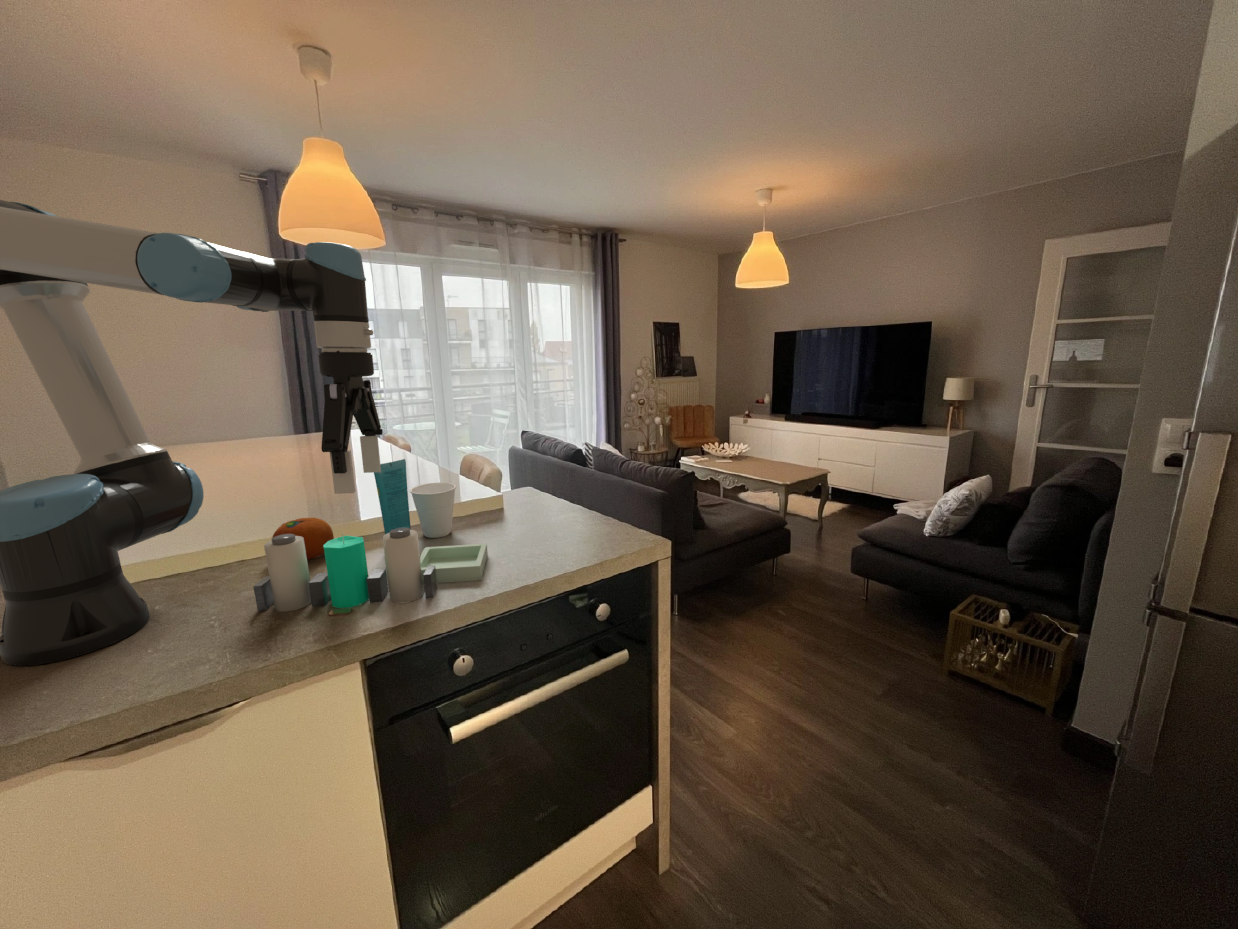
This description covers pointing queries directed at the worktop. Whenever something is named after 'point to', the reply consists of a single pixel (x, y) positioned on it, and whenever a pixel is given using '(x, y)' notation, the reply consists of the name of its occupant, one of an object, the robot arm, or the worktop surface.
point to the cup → (434, 507)
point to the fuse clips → (322, 594)
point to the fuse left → (288, 572)
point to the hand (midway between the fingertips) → (359, 481)
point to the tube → (393, 495)
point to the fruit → (309, 534)
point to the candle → (347, 571)
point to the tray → (455, 562)
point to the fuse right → (403, 565)
